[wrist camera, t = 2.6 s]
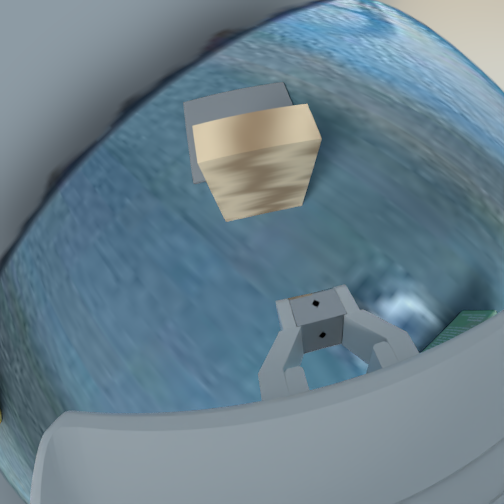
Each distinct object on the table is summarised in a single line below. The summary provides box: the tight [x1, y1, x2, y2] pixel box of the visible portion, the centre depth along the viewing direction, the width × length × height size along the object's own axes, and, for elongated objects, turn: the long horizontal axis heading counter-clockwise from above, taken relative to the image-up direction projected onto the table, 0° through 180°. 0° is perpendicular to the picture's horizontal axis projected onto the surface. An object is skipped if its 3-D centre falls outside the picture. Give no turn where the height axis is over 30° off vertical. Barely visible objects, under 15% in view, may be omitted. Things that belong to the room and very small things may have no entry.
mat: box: [183, 82, 293, 184], centre depth 35 cm, size 15×14×1 cm
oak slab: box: [192, 104, 322, 222], centre depth 26 cm, size 9×4×14 cm, turn 102°
